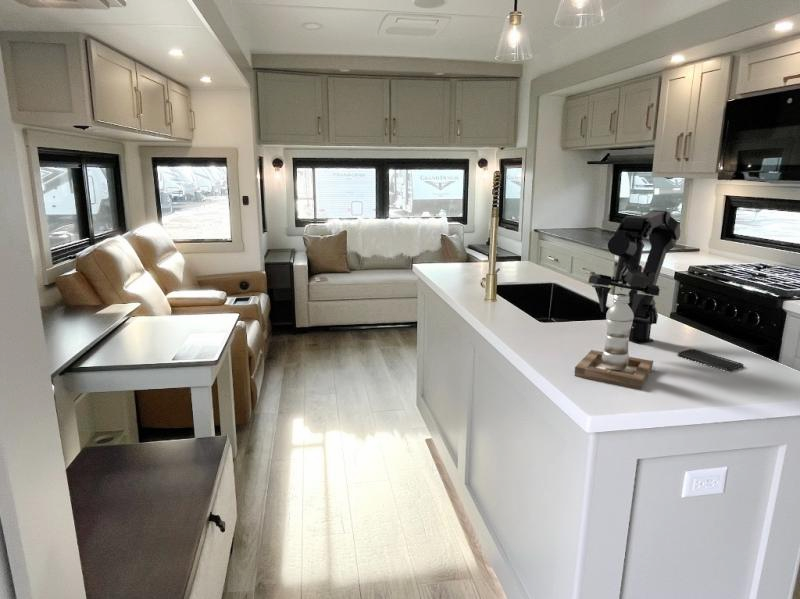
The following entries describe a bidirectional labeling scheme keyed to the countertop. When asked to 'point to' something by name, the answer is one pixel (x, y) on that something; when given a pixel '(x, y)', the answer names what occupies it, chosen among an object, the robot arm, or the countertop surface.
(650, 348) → the countertop surface
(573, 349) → the countertop surface
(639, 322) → the robot arm
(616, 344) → the plastic bottle
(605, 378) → the brown wooden frame
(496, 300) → the countertop surface
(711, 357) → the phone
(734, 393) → the countertop surface
